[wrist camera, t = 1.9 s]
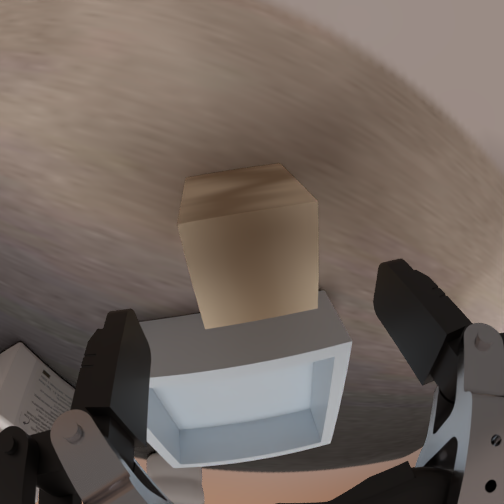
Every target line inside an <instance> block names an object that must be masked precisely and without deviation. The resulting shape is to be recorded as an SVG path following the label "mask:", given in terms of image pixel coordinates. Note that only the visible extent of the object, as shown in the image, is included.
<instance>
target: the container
mask: <svg viewBox="0 0 504 504" xmlns="http://www.w3.org/2000/svg"><path fill="white" fill-rule="evenodd" d="M74 392H75V389H74V388H73V387H72V386H70V385H69V384H68V383H67V382H65V381H64V380H63V379H62V378H60V377H59V376H58V375H57V374H56V373H55V372H53V371H52V370H51V369H50V368H49V367H48V366H47V365H45V364H44V363H43V362H42V361H41V360H40V359H39V358H38V357H37V356H35V355H34V354H33V353H32V352H31V351H30V350H29V349H28V348H27V347H26V346H25V345H24V344H23V343H21V342H19V343H17V344H15V345H14V346H12V347H10V348H9V349H7V350H6V351H4V352H2V353H1V354H0V432H1V431H2V430H4V429H5V428H7V427H9V426H18V427H20V428H21V429H23V430H24V431H25V432H26V433H27V434H28V435H32V434H36V433H40V432H44V431H47V430H51V428H52V425H53V423H54V421H55V420H56V419H57V418H58V417H59V416H60V415H61V414H62V413H64V412H66V411H69V410H70V409H71V405H72V400H73V396H74ZM38 493H39V488H38V487H36V497H35V503H36V502H37V500H38Z"/></svg>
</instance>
